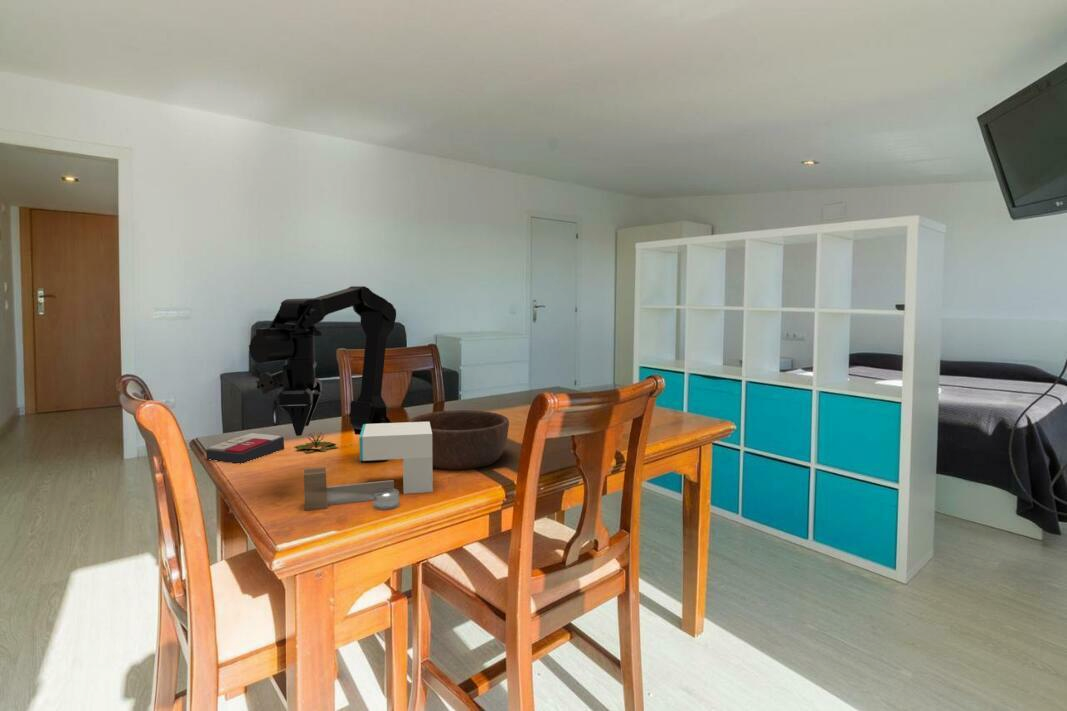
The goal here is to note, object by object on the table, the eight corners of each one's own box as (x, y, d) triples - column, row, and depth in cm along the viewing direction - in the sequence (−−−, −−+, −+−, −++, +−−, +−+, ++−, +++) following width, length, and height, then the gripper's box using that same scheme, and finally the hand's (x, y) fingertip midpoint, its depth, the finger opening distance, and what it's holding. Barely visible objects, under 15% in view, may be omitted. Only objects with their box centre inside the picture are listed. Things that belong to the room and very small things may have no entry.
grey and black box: (204, 447, 144) (250, 430, 158) (206, 463, 145) (252, 446, 159) (240, 451, 141) (284, 434, 155) (241, 468, 141) (285, 449, 155)
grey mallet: (304, 503, 115) (303, 469, 114) (392, 494, 121) (392, 461, 120) (304, 510, 111) (303, 474, 111) (395, 500, 117) (394, 466, 117)
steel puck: (372, 503, 116) (371, 490, 115) (396, 500, 118) (396, 487, 117) (376, 511, 111) (376, 497, 111) (401, 508, 113) (401, 494, 113)
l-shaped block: (364, 478, 131) (363, 423, 130) (429, 474, 134) (429, 421, 133) (360, 496, 119) (359, 436, 118) (432, 492, 122) (432, 433, 121)
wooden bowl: (521, 450, 156) (521, 413, 155) (489, 478, 132) (489, 434, 131) (435, 443, 163) (435, 407, 162) (390, 468, 139) (389, 426, 138)
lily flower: (328, 441, 165) (328, 425, 165) (347, 450, 156) (346, 433, 156) (285, 448, 157) (284, 432, 157) (302, 458, 148) (302, 440, 148)
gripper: (269, 354, 131) (271, 422, 132) (247, 364, 113) (251, 443, 114) (321, 353, 133) (323, 420, 135) (308, 363, 115) (311, 440, 117)
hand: (302, 430), depth 125 cm, fingers open, 9 cm apart
